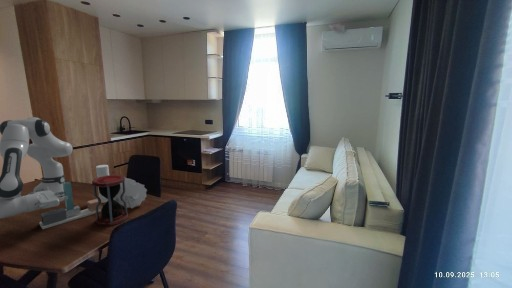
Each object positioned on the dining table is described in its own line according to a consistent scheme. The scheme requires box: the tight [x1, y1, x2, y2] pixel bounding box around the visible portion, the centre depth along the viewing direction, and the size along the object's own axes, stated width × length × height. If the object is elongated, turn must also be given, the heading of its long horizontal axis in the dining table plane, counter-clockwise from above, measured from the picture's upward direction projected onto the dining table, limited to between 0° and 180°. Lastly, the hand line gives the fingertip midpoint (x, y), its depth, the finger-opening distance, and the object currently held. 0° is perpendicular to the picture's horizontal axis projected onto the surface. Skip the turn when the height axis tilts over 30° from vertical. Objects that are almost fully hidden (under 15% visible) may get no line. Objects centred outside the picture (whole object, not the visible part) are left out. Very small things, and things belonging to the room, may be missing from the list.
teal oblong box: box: [63, 181, 81, 217], centre depth 136 cm, size 16×4×20 cm, turn 141°
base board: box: [39, 208, 101, 230], centre depth 142 cm, size 30×8×1 cm, turn 141°
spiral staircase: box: [113, 176, 148, 209], centre depth 159 cm, size 18×18×25 cm
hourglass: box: [91, 174, 129, 227], centre depth 138 cm, size 16×16×25 cm
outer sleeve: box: [40, 207, 67, 226], centre depth 134 cm, size 10×5×5 cm, turn 141°
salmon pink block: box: [87, 198, 103, 212], centre depth 149 cm, size 6×5×5 cm
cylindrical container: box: [95, 164, 110, 204], centre depth 163 cm, size 7×7×25 cm
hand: (65, 194), depth 137 cm, fingers open, 8 cm apart
